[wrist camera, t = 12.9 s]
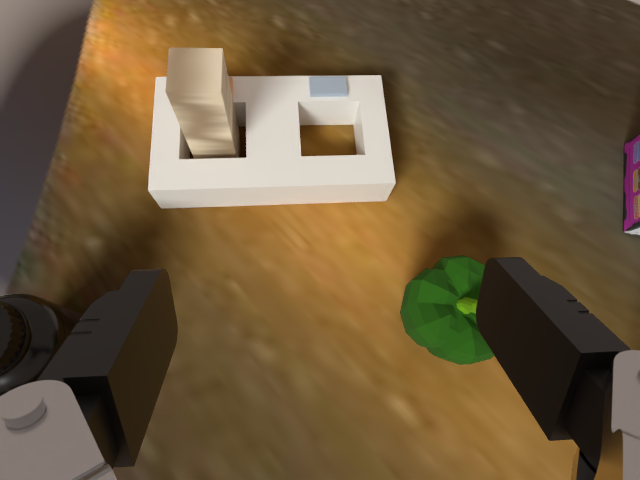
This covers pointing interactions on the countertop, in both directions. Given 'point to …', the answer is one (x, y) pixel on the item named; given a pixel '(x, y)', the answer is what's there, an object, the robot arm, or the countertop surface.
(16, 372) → the supplement bottle
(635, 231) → the candy bar box
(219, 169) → the socket hub
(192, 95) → the beech plug
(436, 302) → the bell pepper
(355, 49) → the countertop surface
